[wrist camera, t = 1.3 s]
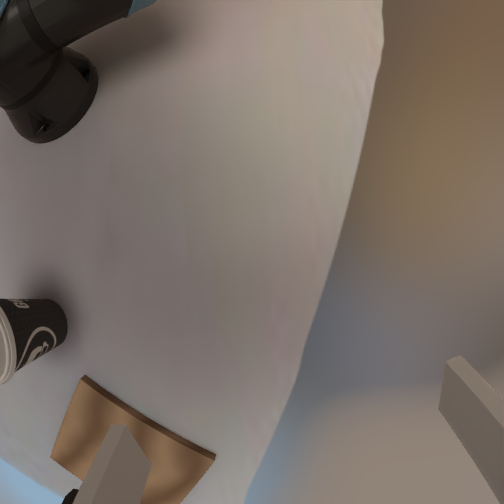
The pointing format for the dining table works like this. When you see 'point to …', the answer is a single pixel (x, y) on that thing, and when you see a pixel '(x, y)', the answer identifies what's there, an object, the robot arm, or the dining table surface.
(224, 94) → the dining table surface
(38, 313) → the coffee cup
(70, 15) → the robot arm
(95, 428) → the wooden board
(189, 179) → the dining table surface
